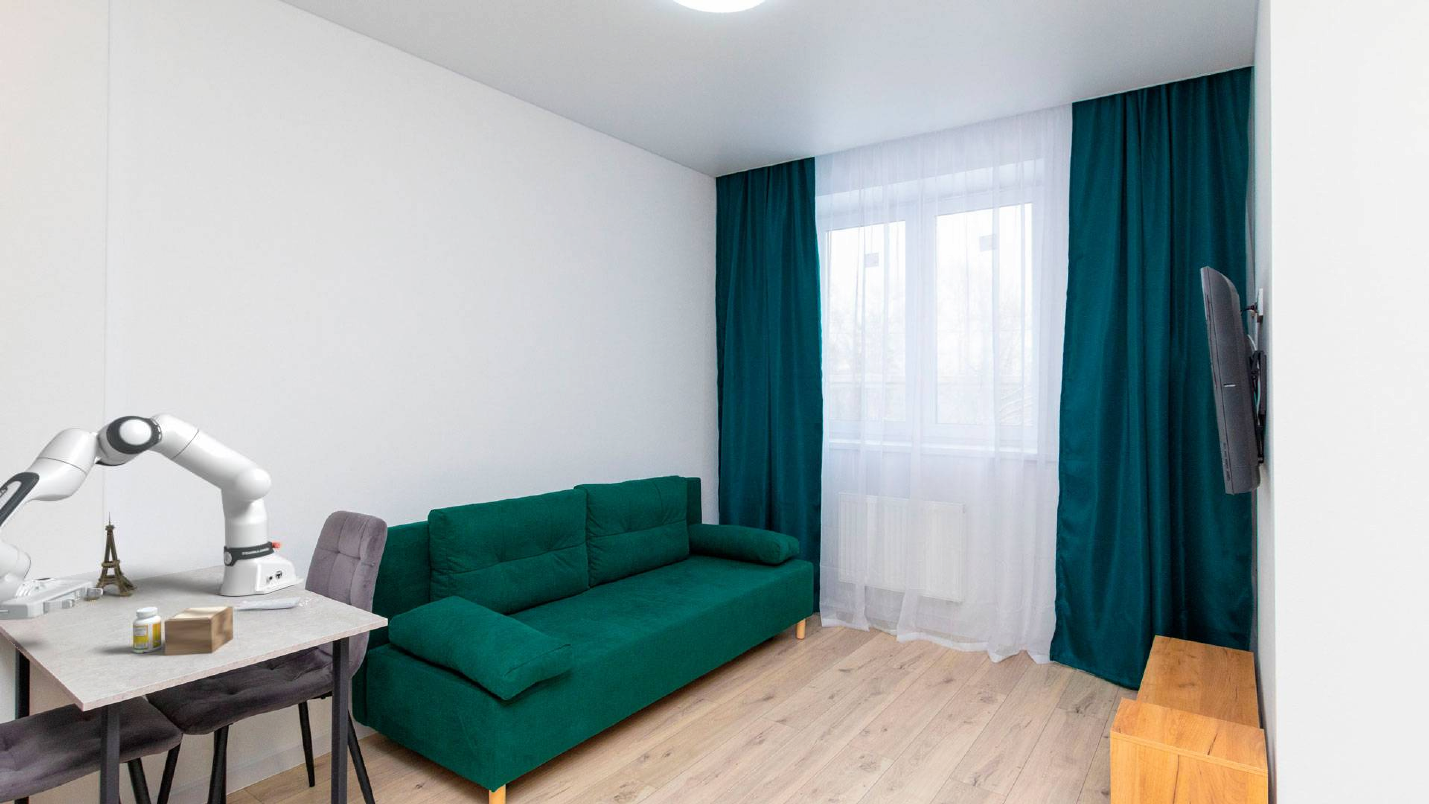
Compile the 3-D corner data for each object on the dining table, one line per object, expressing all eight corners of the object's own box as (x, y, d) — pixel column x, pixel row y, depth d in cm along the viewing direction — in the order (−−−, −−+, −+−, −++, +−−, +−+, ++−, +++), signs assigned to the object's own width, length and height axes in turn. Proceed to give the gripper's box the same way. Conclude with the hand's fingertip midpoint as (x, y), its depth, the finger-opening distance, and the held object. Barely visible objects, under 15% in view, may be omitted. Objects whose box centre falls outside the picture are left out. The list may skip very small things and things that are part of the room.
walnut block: (189, 640, 181) (188, 607, 181) (233, 638, 183) (232, 605, 182) (165, 655, 171) (164, 620, 171) (211, 653, 173) (211, 618, 172)
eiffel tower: (84, 602, 213) (82, 516, 212) (93, 593, 222) (90, 510, 221) (130, 596, 218) (128, 513, 218) (136, 588, 228) (134, 507, 227)
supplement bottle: (136, 655, 171) (135, 614, 171) (130, 649, 175) (129, 609, 175) (164, 648, 176) (163, 609, 175) (158, 643, 179) (157, 604, 179)
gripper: (-17, 599, 160) (54, 597, 162) (53, 575, 181) (115, 574, 183) (-17, 627, 160) (54, 625, 162) (53, 601, 181) (115, 599, 183)
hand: (87, 598), depth 173 cm, fingers open, 8 cm apart
